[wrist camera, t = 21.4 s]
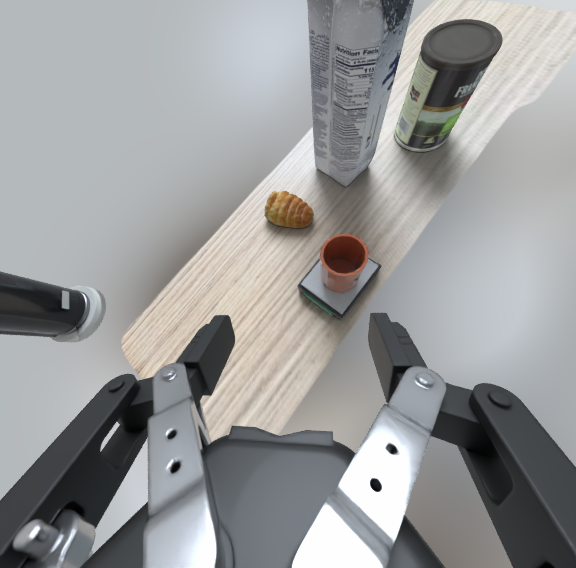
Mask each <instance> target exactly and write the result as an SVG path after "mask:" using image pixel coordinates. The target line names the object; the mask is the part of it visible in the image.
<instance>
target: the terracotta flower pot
mask: <svg viewBox="0 0 576 568" xmlns="http://www.w3.org/2000/svg"><path fill="white" fill-rule="evenodd" d="M368 255H369V252H368V249H367V247H366V244H365V243H364V242H363V241H362V240H361V239H360V238H358V237H356V236H354V235H352V234H343V233H342V234H338V235H334V236H332V237H331V238H329V239H328V240H326V242H325V243H324V245H323V246H322V248H321V253H320V270H321V279H322V282H323V284H324V285H325V286H326V288H328V289H329V290H331V291H333V292H337V293H343V292H347V291H349V290H351V289H352V288H354V286H355V285H356V284H357V282H358V280H359V278H360V276H361V274H362V272H363V270H364V268H365V266H366V264H367V262H368Z"/></svg>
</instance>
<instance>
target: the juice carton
mask: <svg viewBox="0 0 576 568" xmlns="http://www.w3.org/2000/svg"><path fill="white" fill-rule="evenodd" d="M413 2H414V0H307V3H308V20H309V42H310V43H309V44H310V67H311V89H312V112H313V135H314V155H315V166H316V168H318V169H319V170H321V171H322V172H324V173H326V174H327V175H329V176H331V177H332V178H333V179H335V180H336V181H337V182H339V183H340V184H342V185H343V186H345V187H346V186H348V185H349V184H350V183H351V182H352V181H353V180H354V179H355V178H356V177H357V176H358V175H359V174H360V173H361V172H362V171H363V170H365V169H366V168H367V167H368V166H369V164H370V162H371V161H372V159H373V156H374V154H375V150H376V147H377V143H378V139H379V135H380V131H381V127H382V124H383V120H384V116H385V112H386V108H387V104H388V101H389V97H390V93H391V89H392V85H393V81H394V77H395V74H396V70H397V66H398V62H399V58H400V54H401V50H402V47H403V43H404V39H405V35H406V31H407V27H408V23H409V19H410V15H411V10H412V6H413Z"/></svg>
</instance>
